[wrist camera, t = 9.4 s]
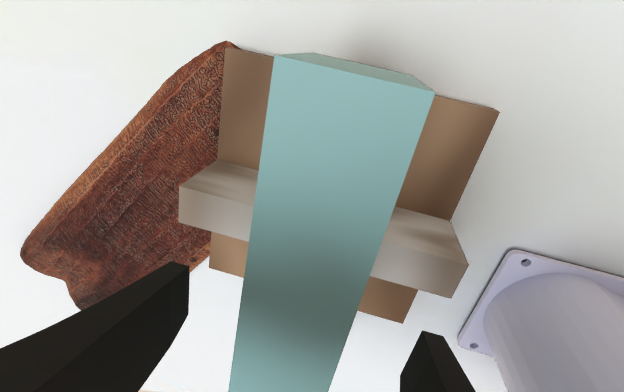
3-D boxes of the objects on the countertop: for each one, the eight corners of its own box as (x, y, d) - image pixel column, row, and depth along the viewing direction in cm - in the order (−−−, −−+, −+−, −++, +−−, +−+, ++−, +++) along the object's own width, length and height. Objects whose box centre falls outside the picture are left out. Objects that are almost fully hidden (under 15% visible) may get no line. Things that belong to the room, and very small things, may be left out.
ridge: (492, 108, 16) (538, 132, 11) (401, 312, 22) (408, 379, 18) (233, 47, 17) (182, 47, 12) (215, 259, 23) (176, 309, 19)
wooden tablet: (219, 2, 15) (344, 170, 16) (241, 12, 17) (351, 161, 18) (5, 254, 26) (90, 347, 27) (34, 242, 28) (112, 328, 29)
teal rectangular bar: (318, 367, 18) (299, 469, 14) (258, 348, 19) (221, 443, 14) (411, 75, 11) (435, 92, 7) (313, 52, 12) (274, 55, 7)
